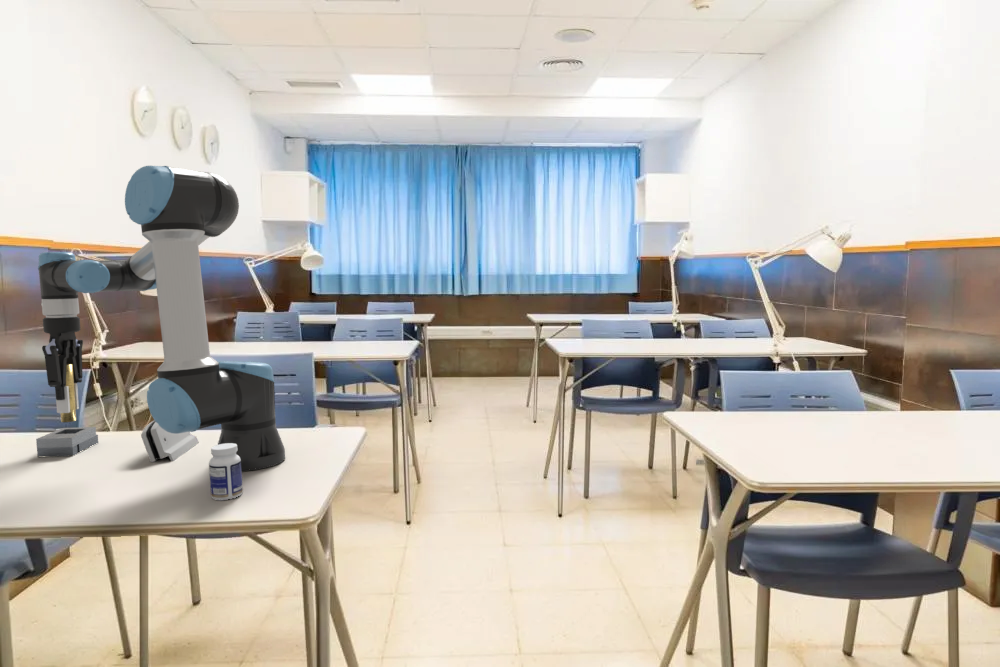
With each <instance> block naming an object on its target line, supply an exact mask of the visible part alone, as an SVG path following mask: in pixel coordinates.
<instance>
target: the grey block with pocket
mask: <svg viewBox="0 0 1000 667" xmlns="http://www.w3.org/2000/svg"><path fill="white" fill-rule="evenodd" d="M35 441H36V442H35V444H36V452H37V454H36V455H37V457H38V456H57V457H69V456H68V455H74V456H76V455H78V454H79V453H78V452H80V451H82V450H84V449H86V448H88V447H90V446H92V445H94V444H96V443H98V444H99V435H98V434H97V430H96V426H85V427H62V428H59V429H57V430H55V431H52V432H49V433H47V434H44V435H42V436H40V437H37V438H36V440H35ZM96 445H97V444H96ZM94 446H95V445H94ZM92 447H93V446H92ZM90 448H91V447H90ZM88 449H89V448H88ZM86 450H87V449H86ZM84 451H85V450H84ZM82 452H83V451H82ZM77 453H78V454H77ZM80 453H81V452H80ZM75 454H76V455H75Z"/></svg>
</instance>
